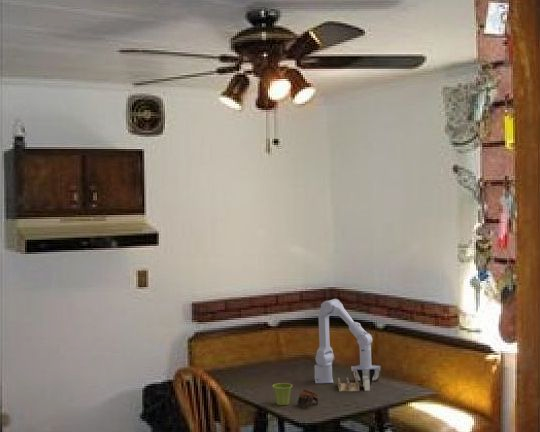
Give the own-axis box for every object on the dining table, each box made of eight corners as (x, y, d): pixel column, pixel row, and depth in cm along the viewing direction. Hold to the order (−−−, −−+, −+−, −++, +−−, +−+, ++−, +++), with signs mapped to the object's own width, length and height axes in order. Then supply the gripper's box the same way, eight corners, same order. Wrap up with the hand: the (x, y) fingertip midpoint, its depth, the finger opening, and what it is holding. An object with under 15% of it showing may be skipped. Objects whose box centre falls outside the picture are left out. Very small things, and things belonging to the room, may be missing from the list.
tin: (380, 380, 344) (380, 364, 344) (381, 381, 341) (380, 365, 341) (352, 380, 346) (351, 364, 346) (352, 381, 343) (351, 365, 343)
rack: (339, 391, 325) (339, 383, 325) (337, 384, 337) (337, 377, 337) (359, 390, 325) (359, 383, 325) (357, 384, 337) (356, 377, 337)
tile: (364, 390, 325) (364, 380, 325) (362, 386, 334) (362, 376, 334) (369, 390, 325) (369, 380, 325) (367, 385, 334) (367, 376, 334)
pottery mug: (293, 404, 307) (299, 388, 309) (311, 412, 308) (317, 395, 310) (299, 405, 295) (306, 388, 298) (318, 413, 296) (324, 396, 299)
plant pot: (279, 399, 314) (278, 381, 314) (296, 402, 309) (295, 384, 309) (269, 405, 306) (268, 386, 305) (286, 407, 301) (286, 389, 301)
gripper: (351, 359, 326) (352, 386, 326) (380, 359, 325) (381, 386, 325) (350, 356, 333) (351, 383, 333) (379, 356, 332) (379, 382, 332)
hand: (366, 384), depth 330 cm, fingers open, 3 cm apart
